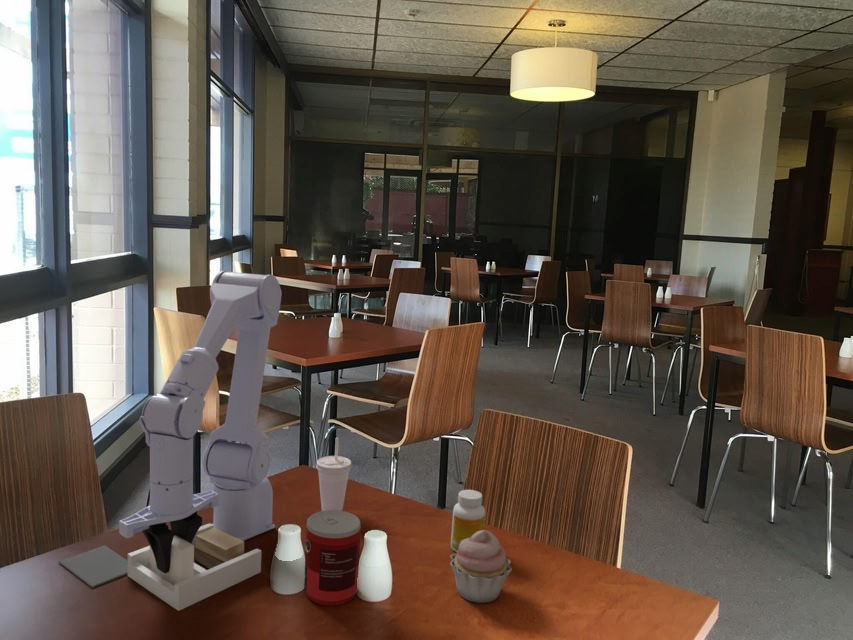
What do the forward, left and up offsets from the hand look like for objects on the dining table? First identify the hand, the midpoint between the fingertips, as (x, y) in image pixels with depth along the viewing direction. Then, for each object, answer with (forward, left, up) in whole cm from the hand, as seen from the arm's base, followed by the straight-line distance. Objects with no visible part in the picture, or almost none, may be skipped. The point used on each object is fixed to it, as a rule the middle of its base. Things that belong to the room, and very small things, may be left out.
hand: (171, 566), depth 98 cm
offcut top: (-8, 0, -1) cm, 8 cm away
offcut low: (-8, 0, -3) cm, 9 cm away
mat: (+5, -12, -3) cm, 13 cm away
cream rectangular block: (0, 0, -3) cm, 3 cm away
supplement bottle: (-39, +25, -3) cm, 47 cm away
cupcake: (-29, +34, -3) cm, 45 cm away
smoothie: (-33, -1, -3) cm, 34 cm away
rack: (-4, 0, -3) cm, 5 cm away
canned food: (-14, +18, -3) cm, 23 cm away
